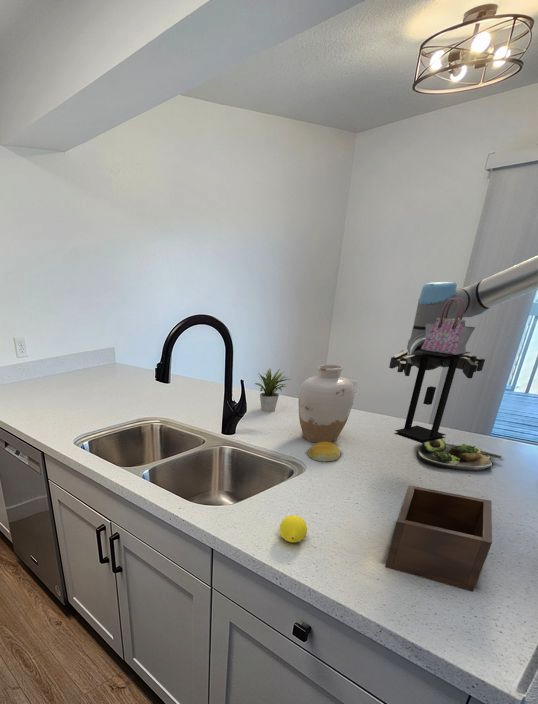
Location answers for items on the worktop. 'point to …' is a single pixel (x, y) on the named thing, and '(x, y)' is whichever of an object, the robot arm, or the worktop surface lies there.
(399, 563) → the open brown wooden box
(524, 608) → the worktop surface
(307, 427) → the vase
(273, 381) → the house plant
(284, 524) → the lemon
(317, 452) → the bread roll
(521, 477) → the worktop surface
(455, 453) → the salad plate
